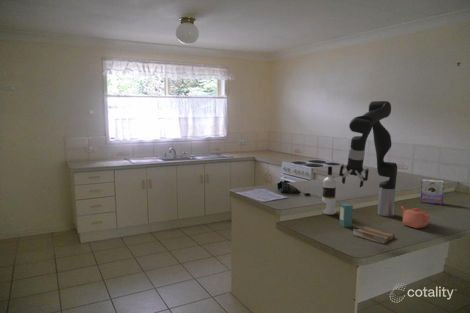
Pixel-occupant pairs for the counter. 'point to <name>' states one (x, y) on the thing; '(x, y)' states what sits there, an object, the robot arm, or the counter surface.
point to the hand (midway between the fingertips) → (352, 185)
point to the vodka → (329, 193)
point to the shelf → (373, 234)
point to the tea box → (346, 215)
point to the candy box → (432, 191)
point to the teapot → (415, 217)
